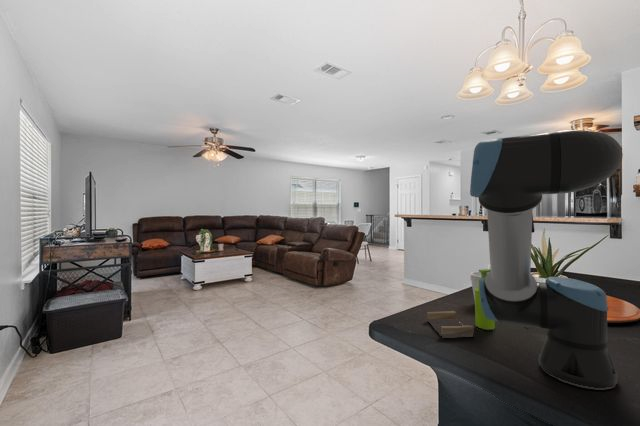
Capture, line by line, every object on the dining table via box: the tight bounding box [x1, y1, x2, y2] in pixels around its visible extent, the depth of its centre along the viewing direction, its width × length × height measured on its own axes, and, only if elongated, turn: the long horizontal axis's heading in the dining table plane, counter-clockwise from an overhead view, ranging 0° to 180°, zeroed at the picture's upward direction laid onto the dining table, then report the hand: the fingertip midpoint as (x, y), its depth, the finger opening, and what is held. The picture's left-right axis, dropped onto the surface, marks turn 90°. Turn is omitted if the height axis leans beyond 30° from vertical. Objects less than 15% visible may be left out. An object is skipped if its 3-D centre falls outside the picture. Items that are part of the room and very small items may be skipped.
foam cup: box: [470, 271, 489, 301], centre depth 125 cm, size 10×9×13 cm
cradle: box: [426, 310, 475, 335], centre depth 105 cm, size 14×10×4 cm
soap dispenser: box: [474, 268, 496, 329], centre depth 105 cm, size 6×7×20 cm
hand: (511, 254), depth 104 cm, fingers open, 7 cm apart
